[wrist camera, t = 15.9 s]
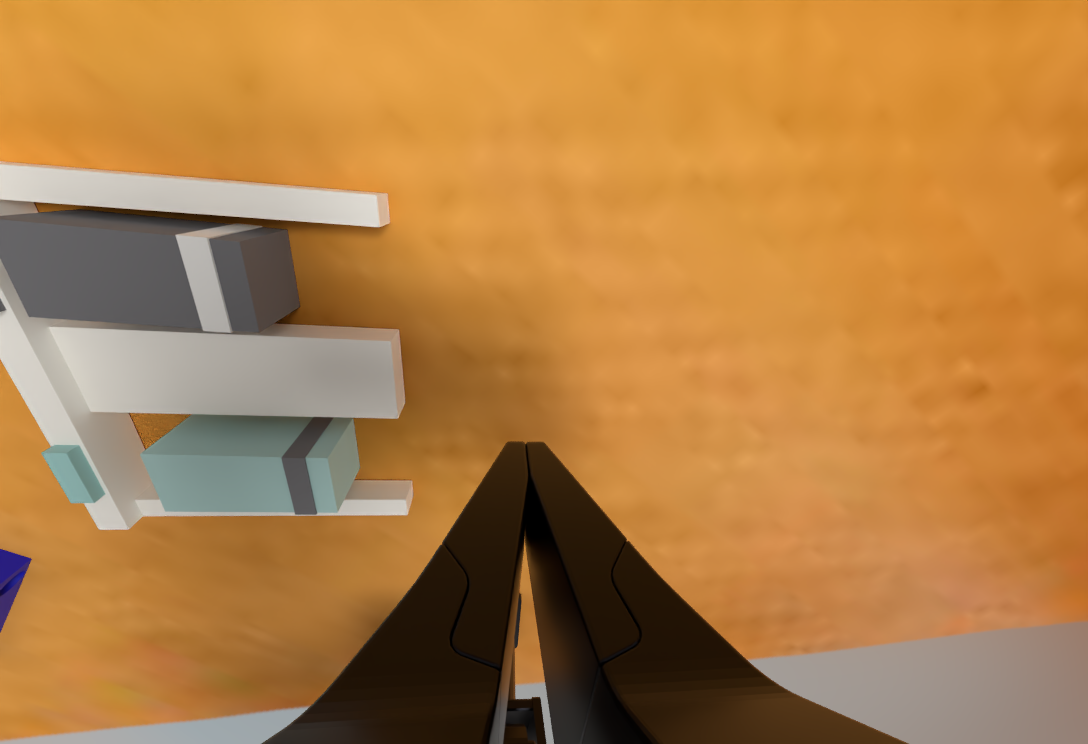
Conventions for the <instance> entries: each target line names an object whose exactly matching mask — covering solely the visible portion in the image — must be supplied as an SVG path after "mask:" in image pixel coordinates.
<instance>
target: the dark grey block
mask: <svg viewBox="0 0 1088 744" xmlns="http://www.w3.org/2000/svg"><path fill="white" fill-rule="evenodd" d="M0 259H1V261H2V263H3V265H4V267H5V269H6V271H7V273H8V275H9V277H10V280H11V282H12V284H13V286H14V288H15V290H16V292H17V294H18V296H19V298H20V300H21V302H22V304H23V306H24V308H25V310H26V312H27V314H28V316H29V317H36V318H51V319H65V320H80V321H95V322H110V323H125V324H139V325H154V326H169V327H184V328H199V329H203V331H211V332H225V333H232V332H233V331H243V332H258V333H260V332H261V331H263V330H264V329H266V328H267V327H269V326H271V325H272V324H274V323H275V322H277V321H278V320H280V319H282V318H283V317H285V316H286V315H288V314H289V313H291V312H292V311H294V310H296V309H297V308H299V307H300V302H299V296H298V290H297V284H296V278H295V272H294V266H293V260H292V254H291V248H290V242H289V236H288V230H287V229H277V228H267V227H263V226H259V225H249V224H239V223H237V224H226V223H216V222H206V221H196V220H186V219H175V218H165V217H155V216H145V215H135V214H124V213H114V212H104V211H94V210H84V209H77V210H65V211H53V212H41V213H28V214H16V215H4V216H0Z"/></svg>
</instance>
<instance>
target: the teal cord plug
mask: <svg viewBox="0 0 1088 744" xmlns="http://www.w3.org/2000/svg"><path fill="white" fill-rule="evenodd" d="M140 456H141V458H142V460H143V463H144V465H145V467H146V469H147V472H148V474H149V476H150V478H151V481H152V483H153V485H154V487H155V490H156V492H157V494H158V496H159V499H160V501H161V503H162V505H163V508H164V510H165V512H295V515H316V514H317V513H338V511H339V509H340V507H341V505H342V503H343V501H344V499H345V497H346V495H347V493H348V491H349V489H350V487H351V485H352V483H353V481H354V479H355V477H356V475H357V473H358V471H359V469H360V462H359V455H358V448H357V441H356V434H355V426H354V419H353V418H345V417H300V416H254V415H209V414H192V415H191V416H189V417H188V418H187V419H185V420H184V421H183V422H181V423H180V424H179V425H177V426H176V427H175V428H173V429H172V430H171V431H170V432H168V433H167V434H166V435H164V436H163V437H162V438H160V439H159V440H158V441H156V442H155V443H154V444H152V445H151V446H150V447H149V448H147V449H146V450H145V451H143V452H142V453H141V454H140Z"/></svg>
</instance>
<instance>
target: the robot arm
mask: <svg viewBox="0 0 1088 744" xmlns="http://www.w3.org/2000/svg"><path fill="white" fill-rule="evenodd" d="M524 538H525V545H526V553H527V560H528V567H529V574H530V581H531V587H532V594H533V601H534V608H535V615H536V622H537V629H538V636H539V642H540V649H541V656H542V663H543V670H544V677H545V684H546V690H547V697H548V704H549V711H550V717H551V725H552V732H553V738H554V744H908V743H906V742H904V741H901V740H899V739H897V738H894V737H892V736H890V735H888V734H885V733H883V732H880V731H878V730H876V729H874V728H871V727H869V726H867V725H865V724H862V723H860V722H858V721H855V720H853V719H851V718H848V717H846V716H844V715H842V714H839V713H837V712H834V711H832V710H830V709H828V708H826V707H823V706H821V705H819V704H816V703H814V702H812V701H809V700H807V699H805V698H802V697H800V696H798V695H796V694H794V693H792V692H790V691H788V690H787V689H785V688H783V687H782V686H780V685H778V684H777V683H775V682H774V681H772V680H771V679H770V678H768V677H767V676H765V675H764V674H763V673H762V672H760V671H759V670H758V669H757V668H755V667H754V666H753V665H752V664H751V663H750V662H749V661H748V660H746V659H745V658H744V657H743V656H742V655H741V654H740V653H739V652H738V651H737V650H736V649H735V648H734V647H733V646H732V645H731V644H729V643H728V642H727V641H726V640H725V639H724V638H723V637H722V636H721V635H720V634H719V633H718V632H717V631H716V630H715V629H714V628H713V627H712V626H711V625H710V624H709V623H708V622H706V621H705V620H704V619H703V618H702V617H701V616H700V615H699V614H698V613H697V612H696V611H695V610H694V609H693V608H692V607H691V606H690V605H689V604H688V603H687V602H686V601H684V600H683V599H682V598H681V597H680V596H679V595H678V594H677V593H676V592H675V591H674V590H673V589H672V588H671V587H670V586H669V585H668V584H667V583H666V582H665V581H664V580H663V579H662V578H661V577H660V576H659V575H658V573H657V572H656V571H655V570H654V569H653V568H652V567H651V566H650V565H649V563H648V562H647V561H646V560H645V559H644V558H643V557H642V556H641V555H640V553H639V552H638V551H637V550H636V549H635V548H634V546H633V545H632V544H631V543H630V542H629V541H627V539H626V537H625V536H624V535H623V534H622V533H621V531H620V530H619V529H618V528H617V527H616V526H615V524H614V523H613V522H612V521H611V520H610V519H609V517H608V516H607V515H606V514H605V513H604V512H603V510H602V509H601V508H600V507H599V506H598V505H597V503H596V502H595V501H594V500H593V499H592V498H591V496H590V495H589V494H588V493H587V492H586V491H585V489H584V488H583V487H582V486H581V485H580V484H579V482H578V481H577V480H576V479H575V478H574V477H573V475H572V474H571V473H570V472H569V471H568V469H567V468H566V467H565V466H564V465H563V464H562V462H561V461H560V460H559V459H558V458H557V457H556V455H555V454H554V453H553V452H552V451H551V450H550V448H549V447H548V446H547V445H546V444H545V443H544V442H527V443H526V444H525V443H524V442H507V443H506V444H505V446H504V448H503V449H502V451H501V452H500V454H499V455H498V457H497V458H496V460H495V461H494V463H493V465H492V466H491V468H490V469H489V471H488V472H487V474H486V475H485V477H484V478H483V480H482V482H481V483H480V485H479V486H478V488H477V489H476V491H475V492H474V494H473V496H472V497H471V499H470V500H469V502H468V503H467V505H466V506H465V508H464V509H463V511H462V513H461V514H460V516H459V517H458V519H457V520H456V522H455V523H454V525H453V526H452V528H451V530H450V531H449V533H448V534H447V536H446V537H445V539H444V540H443V542H442V545H440V546H439V548H438V549H437V551H436V552H435V554H434V556H433V557H432V559H431V560H430V562H429V563H428V564H427V566H426V567H425V569H424V570H423V572H422V573H421V575H420V576H419V577H418V579H417V580H416V582H415V583H414V584H413V586H412V587H411V588H410V590H409V591H408V592H407V593H406V595H405V596H404V597H403V598H402V600H401V601H400V602H399V603H398V605H397V606H396V607H395V609H394V610H393V611H392V612H391V613H390V615H389V616H388V617H387V618H386V619H385V621H384V622H383V623H382V624H381V625H380V627H379V628H378V629H377V630H376V631H375V633H374V634H373V635H372V636H371V637H370V639H369V640H368V641H367V642H366V643H365V645H364V646H363V647H362V648H361V649H360V651H359V652H358V653H357V654H356V655H355V657H354V658H353V659H352V660H351V661H350V663H349V664H348V665H347V666H346V668H345V669H344V670H343V671H342V672H341V674H340V675H339V676H338V677H337V678H336V679H335V681H334V682H333V683H332V684H331V685H330V686H329V688H328V689H327V690H326V691H325V692H324V693H323V694H322V695H321V696H320V697H319V698H318V699H317V700H316V701H315V703H314V704H312V705H311V706H310V707H309V708H308V709H307V710H306V711H305V712H304V713H303V714H302V715H301V716H299V717H298V718H297V719H296V720H294V721H293V722H292V723H291V724H290V725H288V726H287V727H286V728H284V729H283V730H281V731H280V732H278V733H277V734H275V735H274V736H272V737H271V738H269V739H268V740H266V741H265V742H263V743H262V744H546V738H545V730H544V722H543V714H542V707H541V699H540V697H532V699H515V648H516V647H517V645H518V635H519V623H520V612H521V594H520V593H519V589H520V580H521V571H522V561H523V552H524Z"/></svg>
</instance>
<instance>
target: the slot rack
mask: <svg viewBox="0 0 1088 744" xmlns="http://www.w3.org/2000/svg"><path fill="white" fill-rule="evenodd" d="M34 202H43V203H56V204H70V205H84V206H97V207H111V208H124V209H138V210H151V211H165V212H179V213H192V214H206V215H219V216H233V217H247V218H260V219H274V220H287V221H301V222H315V223H328V224H342V225H355V226H369V227H382V226H384V225H386V224H389V223H390V216H389V204H388V193H376V192H364V191H352V190H340V189H328V188H316V187H304V186H292V185H280V184H268V183H256V182H244V181H232V180H220V179H208V178H195V177H183V176H171V175H159V174H147V173H135V172H123V171H111V170H99V169H87V168H75V167H63V166H51V165H39V164H27V163H14V162H2V161H0V216H4V215H16V214H28V213H38V211H37V208H36V206H35V204H34ZM0 359H1V361H2V363H3V364H4V366H5V368H6V370H7V371H8V373H9V375H10V376H11V378H12V380H13V382H14V383H15V385H16V387H17V389H18V390H19V392H20V394H21V396H22V397H23V399H24V401H25V402H26V404H27V406H28V408H29V409H30V411H31V413H32V415H33V416H34V418H35V420H36V421H37V423H38V425H39V427H40V428H41V430H42V432H43V434H44V435H45V437H46V439H47V441H48V442H49V444H50V446H51V447H50V448H49V449H47V450H45V451H44V452H42V453H41V454H42V455H43V457H44V459H45V460H46V462H47V464H48V465H49V467H50V469H51V470H52V472H53V474H54V475H55V477H56V479H57V480H58V482H59V484H60V485H61V487H62V489H63V490H64V492H65V494H66V496H67V497H68V499H69V501H70V502H71V503H84V505H85V506H86V508H87V510H88V511H89V513H90V515H91V517H92V518H93V520H94V522H95V524H96V525H97V527H98V529H99V530H125V529H130V528H131V527H132V526H133V525H134V524H135V523H136V522H137V521H138V520H139V519H141V518H142V517H143V516H319V515H408V512H409V508H410V505H411V502H412V498H413V486H412V480H354V481H353V483H352V485H351V487H350V489H349V491H348V493H347V495H346V497H345V499H344V501H343V503H342V505H341V507H340V509H339V511H338V513H317V514H316V515H295V512H165V510H164V508H163V505H162V503H161V501H160V499H159V496H158V494H157V492H156V490H155V487H154V485H153V483H152V481H151V478H150V476H149V474H148V472H147V469H146V467H145V465H144V463H143V460H142V458H141V456H140V454H141V453H142V452H143V451H145V448H144V446H143V444H142V442H141V439H140V437H139V435H138V433H137V430H136V428H135V426H134V424H133V422H132V419H131V417H130V415H129V413H163V414H209V415H254V416H300V417H345V418H391V419H398V418H399V416H400V413H401V411H402V409H403V407H404V405H405V392H404V380H403V368H402V357H401V345H400V333H399V329H383V328H361V327H339V326H318V325H296V324H272V325H271V326H269V327H267V328H266V329H264V330H263V331H261V332H260V333H258V332H243V331H233V332H232V333H225V332H211V331H203V329H199V328H184V327H169V326H154V325H139V324H125V323H110V322H95V321H80V320H65V319H51V318H36V317H29V316H28V314H27V312H26V310H25V308H24V306H23V304H22V302H21V300H20V298H19V296H18V294H17V292H16V290H15V288H14V286H13V284H12V282H11V280H10V277H9V275H8V273H7V271H6V269H5V267H4V265H3V263H2V261H1V259H0Z"/></svg>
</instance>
